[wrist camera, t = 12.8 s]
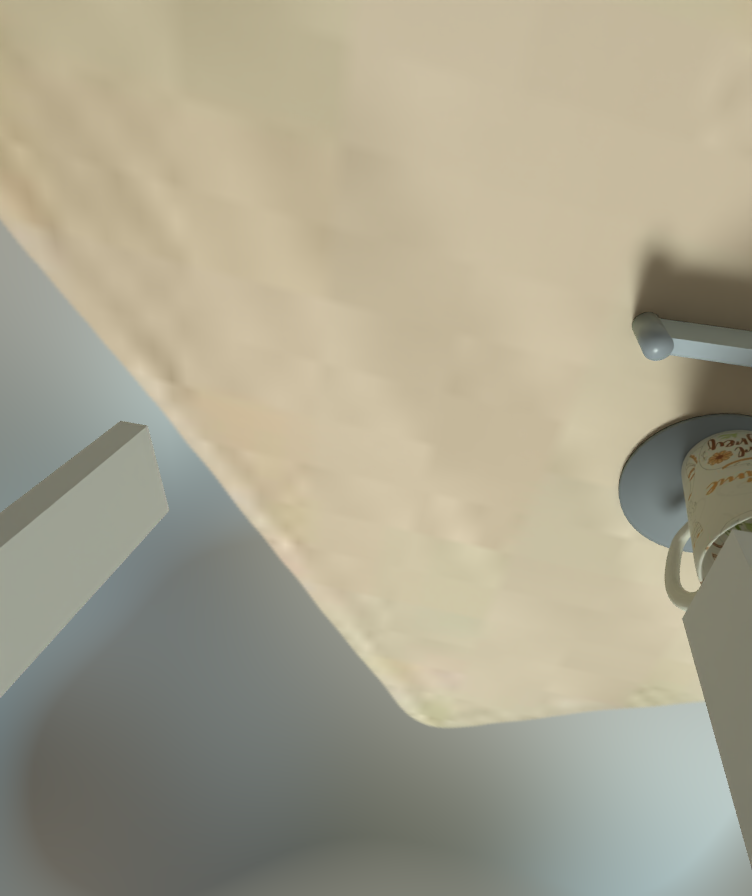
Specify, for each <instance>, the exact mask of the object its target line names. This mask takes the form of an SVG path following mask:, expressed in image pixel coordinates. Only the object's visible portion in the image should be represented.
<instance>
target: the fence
mask: <svg viewBox="0 0 752 896" xmlns="http://www.w3.org/2000/svg"><path fill="white" fill-rule="evenodd" d="M632 330H633V332H634V334H635V336H636V338H637V341H638V343H639V345H640V347H641V349H642V351H643V354H644V355H645V357H646V358H648V359H650V360H653V361H658V360H662V359H665V358H666V357H668V356H669V355H674V356H680V357H687V358H694V359H701V360H707V361H714V362H721V363H727V364H734V365H741V366H748V367H752V331H746V330H739V329H732V328H724V327H717V326H710V325H703V324H695V323H688V322H681V321H674V320H666V319H659V317H658V316H657V315H656V314H654V313H651V312H646V313H642V314H640V315H638V316H637V317H636V318H635V319H634V321H633V323H632Z"/></svg>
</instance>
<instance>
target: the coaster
mask: <svg viewBox="0 0 752 896" xmlns="http://www.w3.org/2000/svg"><path fill="white" fill-rule="evenodd" d="M730 430H748V431H752V416H748V415H739V414H714V415H705V416H700V417H695V418H691V419H688V420H684V421H681V422H678V423H676V424H673V425H671V426H669V427H667V428H665V429H663V430H661V431H659V432H657V433H656V434H654V435H653V436H651V437H650V438H649V439H647V440H646V441H645V442H644V443H643V444H641V445H640V446H639V447H638V448H637V449H636V451H635V452H634V453H633V454H632V455H631V457H630V458H629V460H628V461H627V462H626V464H625V466H624V468H623V471H622V474H621V477H620V481H619V499H620V503H621V507H622V510H623V512H624V515H625V516H626V518H627V520H628V521H629V523H630V524H631V525H632V526H633V527H634V528H635V529H636V530H637V531H638V532H639V533H640V534H642V535H643V536H645V537H646V538H648V539H649V540H651V541H653V542H655V543H657V544H659V545H662V546H665V547H667V548H670V545H671V542H672V540H673V538H674V536H675V535H676V533H677V532H678V531H679V530H680V529H681V528H682V527H683V526H684V525H685V524H686V522H688V516H687V510H686V503H685V497H684V490H683V484H682V476H681V469H682V464H683V461H684V459H685V457H686V455H687V454H688V452H689V451H690V450H691V449H692V448H693V447H694V446H695V445H696V444H697V443H699V442H700V441H702V440H703V439H705V438H707V437H709V436H711V435H714V434H717V433H720V432H724V431H730ZM683 551H685V552H693V549H692V542H691V537H690V538H689V539H688V541H687V542H686V544H685V546H684V548H683Z"/></svg>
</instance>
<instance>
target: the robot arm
mask: <svg viewBox="0 0 752 896" xmlns="http://www.w3.org/2000/svg"><path fill="white" fill-rule="evenodd" d="M167 512H169V508H168V503H167V499H166V496H165V492H164V488H163V484H162V480H161V476H160V472H159V468H158V465H157V461H156V457H155V453H154V449H153V445H152V441H151V437H150V434H149V429H148V426H146V425H140V424H134V423H129V422H123V421H120V422H119V423H117V424H116V425H115V426H113V427H112V428H111V429H109V430H108V431H107V432H105V433H104V434H103V435H102V436H100V437H99V438H98V439H97V440H95V441H94V442H92V443H91V444H90V445H89V446H87V447H86V448H85V449H83V450H82V451H81V452H80V453H78V454H77V455H75V456H74V457H73V458H71V459H70V460H69V461H67V462H66V463H65V464H64V465H62V466H61V467H60V468H58V469H57V470H56V471H54V472H53V473H52V474H50V475H49V476H48V477H47V478H45V479H44V480H43V481H41V482H40V483H39V484H38V485H36V486H35V487H33V488H32V489H31V490H30V491H28V492H27V493H26V494H24V495H23V496H22V497H20V498H19V499H18V500H17V501H15V502H14V503H12V504H11V505H10V506H9V507H7V508H6V509H5V510H3V511H2V512H1V513H0V698H1V696H2V695H3V694H4V693H5V692H6V691H7V690H8V689H9V688H10V687H11V685H12V684H13V683H14V682H15V681H16V680H17V679H18V678H19V676H20V675H21V674H22V673H23V672H24V671H25V670H26V669H27V668H28V667H29V665H30V664H31V663H32V662H33V661H34V660H35V659H36V658H37V657H38V656H39V654H40V653H41V652H42V651H43V650H44V649H45V648H46V647H47V646H48V644H49V643H50V642H51V641H52V640H53V639H54V638H55V637H56V636H57V635H58V633H59V632H60V631H61V630H62V629H63V628H64V626H66V625H67V623H68V622H69V621H70V620H71V619H72V618H73V617H74V616H75V615H76V613H77V612H78V611H79V610H80V609H81V608H82V607H83V606H84V605H85V603H86V602H87V601H88V600H89V599H90V598H91V597H92V596H93V595H94V593H95V592H96V591H97V590H98V589H99V588H100V587H101V586H102V585H103V584H104V582H105V581H106V580H107V579H108V578H109V577H110V576H111V575H112V573H113V572H114V571H115V570H116V569H117V568H118V567H119V566H120V565H121V563H122V562H123V561H124V560H125V559H126V558H127V557H128V556H129V555H130V554H131V553H132V551H133V550H134V549H135V548H136V547H137V546H138V545H139V544H140V542H141V541H142V540H143V539H144V538H145V537H146V536H147V535H148V533H150V531H151V530H152V529H153V528H154V527H155V526H156V525H157V524H158V523H159V521H160V520H161V519H162V518H163V517H164V516H165V515H166V514H167ZM682 619H683V623H684V627H685V630H686V634H687V637H688V641H689V645H690V648H691V652H692V655H693V659H694V663H695V666H696V670H697V673H698V677H699V681H700V684H701V688H702V691H703V695H704V699H705V702H706V706H707V709H708V713H709V717H710V720H711V724H712V727H713V731H714V735H715V738H716V742H717V745H718V749H719V752H720V756H721V760H722V763H723V767H724V771H725V774H726V778H727V781H728V785H729V788H730V792H731V796H732V799H733V803H734V806H735V810H736V814H737V817H738V821H739V824H740V828H741V832H742V835H743V838H744V842H745V846H746V850H747V853H748V857H749V860H750V864H751V868H752V532H746V531H740V530H735V529H732V531H731V532H730V534H729V536H728V538H727V540H726V541H725V543H724V545H723V547H722V548H721V550H720V552H719V554H718V556H717V557H716V559H715V561H714V563H713V565H712V566H711V568H710V570H709V572H708V573H707V575H706V577H705V579H704V581H703V582H702V584H701V586H700V588H699V590H698V591H697V593H696V595H695V597H694V598H693V600H692V602H691V604H690V606H689V607H688V609H687V611H686V613H685V615H684V616H683V618H682Z"/></svg>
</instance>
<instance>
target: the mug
mask: <svg viewBox="0 0 752 896" xmlns="http://www.w3.org/2000/svg"><path fill="white" fill-rule="evenodd" d="M681 476H682V484H683V490H684V497H685V503H686V510H687V516H688V522H686V524H685V525H684V526H683V527H682V528H681V529H680V530H679V531H678V532H677V533H676V535H675V536H674V538H673V540H672V542H671V545H670V548H669V552H668V556H667V560H666V567H665V587H666V591H667V594H668V596H669V598H670V600H671V601H672V603H673V604H674V605H675V606H677V607H678V608H680V609H681V610H684V611H687V609H688V607H689V606H690V604H691V602H692V600H693V598H694V597H695V595H696V593H697V591H698V590H697V591H696V592H688V591H686V590H684V589H683V587H682V586H681V583H680V575H679V573H680V563H681V556H682V551H683V548H684V546H685V544H686V542H687V541H688V539H689V538H690V537H691V542H692V549H693V555H694V562H695V567H696V572H697V576H698V579H699V581H700V583H701V584H702V582H703V581H704V579H705V577H706V575H707V573H708V572H709V570H710V568H711V566H712V565H713V563H714V561H715V559H716V557H717V556H718V554H719V552H720V550H721V548H722V547H723V545H724V543H725V541H726V540H727V538H728V536H729V534H730V532H731V531H732V529H735V530H740V531H746V532H752V431H748V430H730V431H724V432H720V433H717V434H714V435H711V436H709V437H707V438H705V439H703V440H702V441H700V442H699V443H697V444H696V445H695V446H694V447H693V448H692V449H691V450H690V451H689V452H688V454H687V455H686V457H685V459H684V461H683V464H682V469H681Z"/></svg>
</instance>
